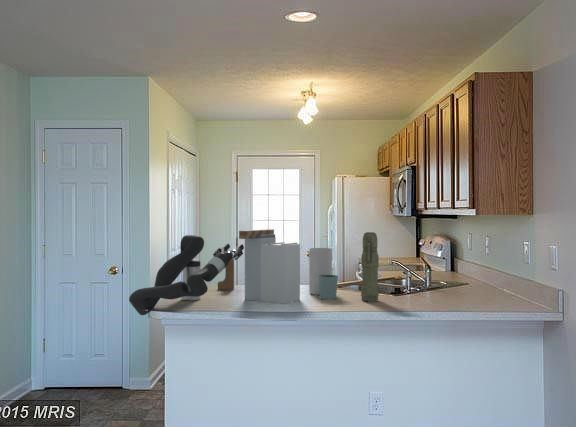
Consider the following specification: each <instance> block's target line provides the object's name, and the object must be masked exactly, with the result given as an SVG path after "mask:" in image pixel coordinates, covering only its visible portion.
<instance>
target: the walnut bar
mask: <svg viewBox="0 0 576 427" xmlns="http://www.w3.org/2000/svg"><path fill="white" fill-rule="evenodd" d="M270 234H275V229H271V228H270V229H269V228H268V229H251V230H250V229H249V230H238V239H240V240H245V239H253V238H257V235H270Z"/></svg>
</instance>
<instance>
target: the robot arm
mask: <svg viewBox="0 0 576 427" xmlns="http://www.w3.org/2000/svg"><path fill="white" fill-rule="evenodd" d="M204 246H205V240H204V238H203V237H202V236H201V235H200V236H199V235H192V234H190V235H189V234H187V235H184V236H182V238H181V239H180V250H179V251H180V252H179V253H178V254H176V255H175V256H172V257H171V258H169V259H168V260H167V261H165V262H164V264H162V266H161V267H160V268H159V269H158V271H157V273H156V277H155V281H154V286H151V287H144V288H139V289H136V290H135V291H133V292H132V293H131V294H129V298H128V301H129V303H130V304H131V305H132V307H133V308H134V310H135V311H136V312H137V313H138V314H139V315H140V316H146V315H147V314H149V313H150V312H151V310H153V309H154V308H155V306H156V305H157V304H158V302H159V301H160V299H164V300H177V299H180V298H181V300H182V301H198V300H201V296H203V295H205V294H206V293H207V291H208V285H207V283H208V282H209V283H210V282H212V281H213V280H214V279H215V278H216V277H218V275H219V274H221V273H222V272H223V270H224V269H225V267H226V266H227V265H228V264H229V261H230V260H231V259H234V261H237V260H238V259H240V257H242V255H244V252H243V250H245V245H244V244H240V245H239V246H238V247H237V248H236V249H231V250H229V249H230V248H231V245H230V243H226V244H225V245H224V246H223V247H218V248H217V249H216V250H215V251H214V252H213V253H212V255H213V256H212V258H211V259H210V260H209V261H208V262H207V263H206V265H204V266H203V267H202V268H201V260H199V259H198V258H197V256H198V255H199V254H200V253H201V252H202V251H203V248H204ZM181 273H182V275H181V276H182V281H176V282H175V280H176V279H177V278H178V277H179V275H180V274H181ZM206 282H207V283H206Z"/></svg>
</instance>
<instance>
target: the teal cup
mask: <svg viewBox="0 0 576 427" xmlns="http://www.w3.org/2000/svg"><path fill="white" fill-rule="evenodd" d="M338 279H339V275H335V274H332V275H319V290H320V295H319V299H320V300H325V299H332V300H336V299H337V293H338V292H337V291H338V281H339V280H338Z"/></svg>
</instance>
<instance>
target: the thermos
mask: <svg viewBox="0 0 576 427" xmlns="http://www.w3.org/2000/svg"><path fill="white" fill-rule="evenodd" d="M360 256H361V260H360V261H361V269H362V270H361V273H362V275H361V276H362V278H361V282H362V283H361V289H360V296H361V300H363V301H362V302H365V301H376V300H378V301H379V296H380V294H379V293H380V292H379V287H378V286H379V285H378V280H379V279H378V276H379V274H378V273H379V272H378V270H379V269H378V268H379V267H380V266H379V260H380V259H379V258H380V257H379V254H378V236H377V233H375V232H374V231H373V232H372V231H371V232H370V231H369V232H365V233H363V236H362V254H361V255H360Z"/></svg>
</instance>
